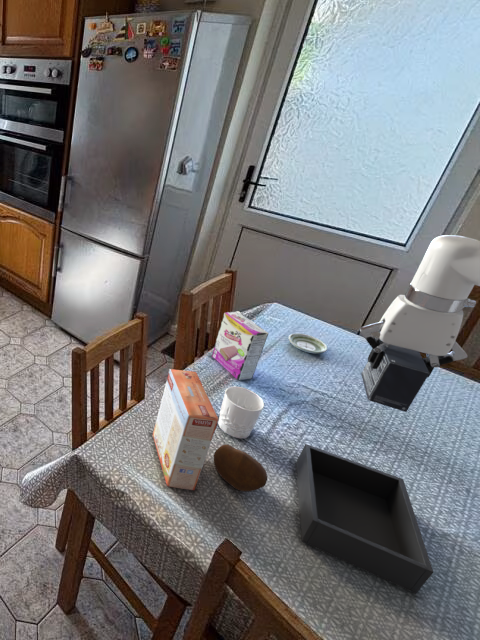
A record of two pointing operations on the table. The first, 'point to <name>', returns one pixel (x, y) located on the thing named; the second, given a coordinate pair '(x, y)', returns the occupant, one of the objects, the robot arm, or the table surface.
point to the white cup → (239, 411)
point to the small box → (395, 378)
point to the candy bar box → (239, 345)
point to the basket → (360, 517)
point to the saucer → (307, 343)
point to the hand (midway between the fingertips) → (395, 370)
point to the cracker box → (184, 429)
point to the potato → (239, 469)
